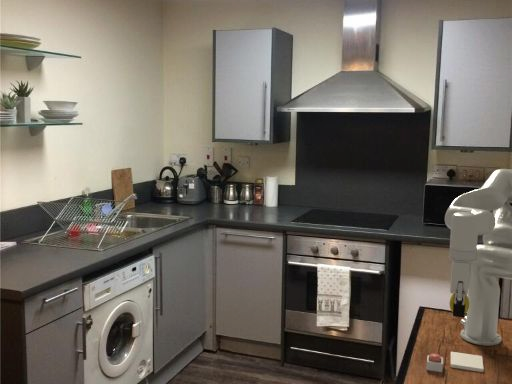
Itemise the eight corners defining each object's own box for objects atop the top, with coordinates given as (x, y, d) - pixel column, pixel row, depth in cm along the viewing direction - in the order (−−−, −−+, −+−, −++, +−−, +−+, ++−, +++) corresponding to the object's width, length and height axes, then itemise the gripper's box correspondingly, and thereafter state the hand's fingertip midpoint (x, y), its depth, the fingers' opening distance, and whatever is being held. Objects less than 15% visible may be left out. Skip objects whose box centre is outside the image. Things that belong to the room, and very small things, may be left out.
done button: (430, 358, 166) (430, 352, 166) (440, 359, 166) (440, 354, 165) (429, 362, 164) (430, 356, 164) (439, 363, 163) (440, 358, 163)
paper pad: (450, 354, 174) (450, 351, 174) (481, 359, 171) (481, 355, 171) (450, 367, 166) (450, 364, 165) (483, 372, 163) (483, 368, 163)
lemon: (444, 315, 169) (446, 290, 168) (456, 311, 172) (458, 286, 171) (460, 321, 164) (462, 295, 163) (472, 317, 167) (474, 291, 166)
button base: (426, 363, 168) (427, 355, 167) (442, 365, 166) (443, 357, 166) (426, 369, 164) (426, 361, 163) (442, 372, 162) (442, 363, 162)
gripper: (450, 246, 174) (447, 301, 177) (447, 260, 158) (443, 321, 161) (476, 248, 171) (472, 304, 174) (476, 263, 156) (471, 325, 159)
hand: (459, 312), depth 168 cm, fingers closed on lemon, 5 cm apart
